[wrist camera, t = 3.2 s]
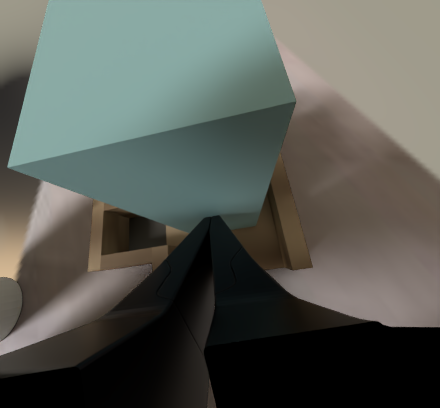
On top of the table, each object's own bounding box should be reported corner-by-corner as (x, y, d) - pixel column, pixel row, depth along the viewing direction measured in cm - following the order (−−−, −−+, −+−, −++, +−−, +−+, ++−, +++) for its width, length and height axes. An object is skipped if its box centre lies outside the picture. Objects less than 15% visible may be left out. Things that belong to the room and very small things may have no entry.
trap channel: (297, 264, 14) (323, 269, 9) (120, 288, 15) (64, 304, 11) (260, 123, 18) (265, 76, 13) (123, 153, 20) (84, 121, 15)
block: (255, 225, 14) (296, 101, 3) (195, 235, 14) (7, 167, 3) (244, 170, 15) (238, -65, 4) (190, 181, 16) (49, -2, 5)
